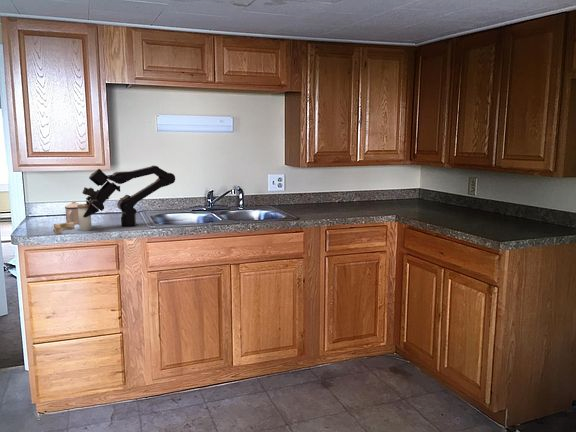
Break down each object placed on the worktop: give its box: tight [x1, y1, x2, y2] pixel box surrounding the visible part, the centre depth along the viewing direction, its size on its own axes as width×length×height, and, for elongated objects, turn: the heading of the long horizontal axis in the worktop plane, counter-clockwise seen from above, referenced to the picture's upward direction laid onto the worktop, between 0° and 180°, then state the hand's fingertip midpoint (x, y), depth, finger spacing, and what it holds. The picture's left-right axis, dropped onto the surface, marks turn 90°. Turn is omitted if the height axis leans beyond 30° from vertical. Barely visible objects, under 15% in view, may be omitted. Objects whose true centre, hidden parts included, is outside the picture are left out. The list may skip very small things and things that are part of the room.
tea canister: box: [77, 203, 93, 232], centre depth 246 cm, size 6×6×12 cm
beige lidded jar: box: [64, 200, 80, 225], centre depth 262 cm, size 12×9×12 cm
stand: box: [53, 222, 75, 235], centre depth 242 cm, size 9×12×3 cm
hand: (82, 216), depth 245 cm, fingers closed on tea canister, 6 cm apart
